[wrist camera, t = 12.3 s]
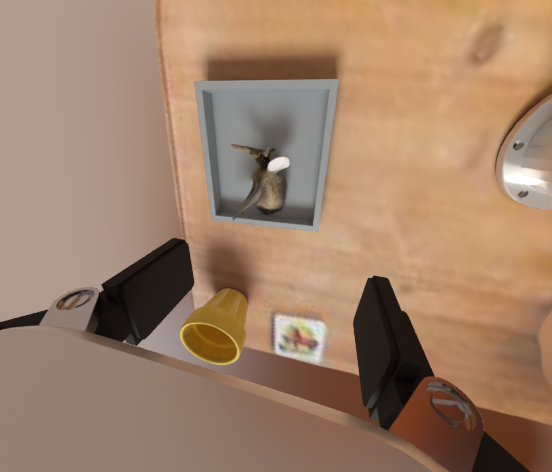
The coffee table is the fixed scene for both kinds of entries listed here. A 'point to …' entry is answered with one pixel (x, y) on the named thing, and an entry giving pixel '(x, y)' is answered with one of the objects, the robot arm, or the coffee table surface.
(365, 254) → the coffee table surface
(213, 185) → the bin
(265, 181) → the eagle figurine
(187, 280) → the robot arm
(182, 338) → the plant pot
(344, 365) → the coffee table surface
